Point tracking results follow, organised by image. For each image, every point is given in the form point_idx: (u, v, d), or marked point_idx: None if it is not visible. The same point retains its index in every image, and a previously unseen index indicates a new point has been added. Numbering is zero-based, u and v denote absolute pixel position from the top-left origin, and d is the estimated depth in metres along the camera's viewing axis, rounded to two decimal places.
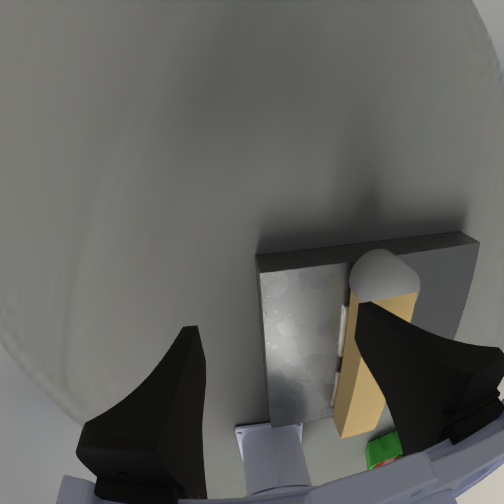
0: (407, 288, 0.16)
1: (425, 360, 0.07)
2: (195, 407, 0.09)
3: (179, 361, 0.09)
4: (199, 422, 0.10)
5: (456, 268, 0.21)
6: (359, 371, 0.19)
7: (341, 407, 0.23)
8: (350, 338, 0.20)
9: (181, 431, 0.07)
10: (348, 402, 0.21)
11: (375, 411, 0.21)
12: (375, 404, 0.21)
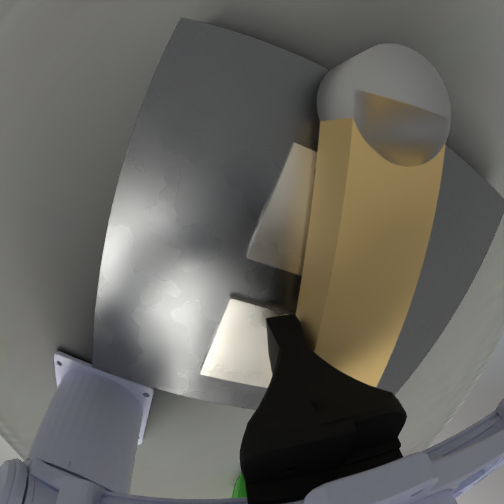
0: (428, 98, 0.07)
1: (295, 393, 0.07)
2: None
3: (301, 347, 0.09)
4: None
5: (474, 216, 0.13)
6: (333, 286, 0.09)
7: None
8: (316, 222, 0.11)
9: None
10: None
11: None
12: None
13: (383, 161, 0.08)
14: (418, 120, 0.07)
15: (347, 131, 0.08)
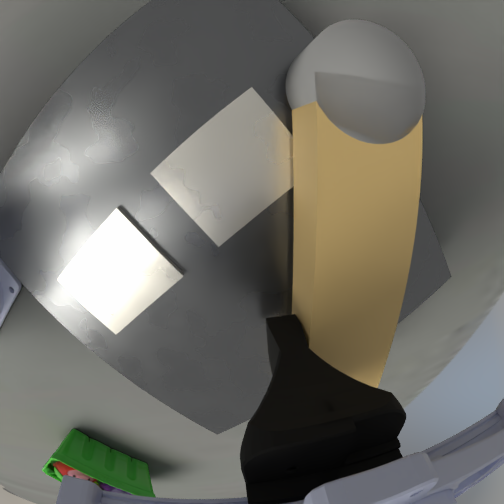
0: (397, 70, 0.07)
1: (295, 393, 0.07)
2: None
3: (301, 347, 0.09)
4: None
5: None
6: (319, 276, 0.09)
7: None
8: (299, 212, 0.10)
9: None
10: None
11: None
12: (361, 377, 0.11)
13: (355, 141, 0.07)
14: (388, 94, 0.07)
15: (313, 116, 0.07)
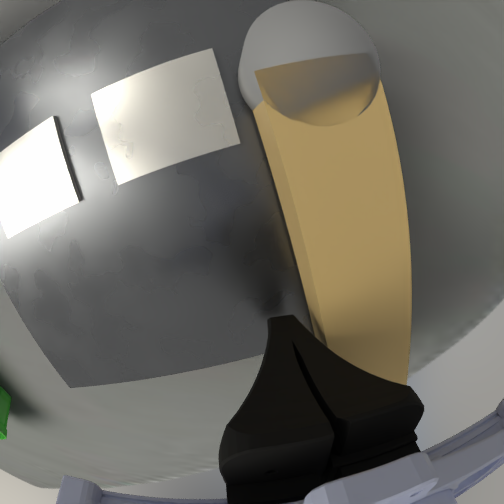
0: (341, 41, 0.06)
1: (315, 390, 0.07)
2: None
3: (287, 349, 0.09)
4: None
5: None
6: (315, 271, 0.09)
7: None
8: (285, 209, 0.10)
9: None
10: None
11: (394, 371, 0.11)
12: (389, 356, 0.11)
13: (315, 128, 0.07)
14: (338, 69, 0.07)
15: (266, 115, 0.07)
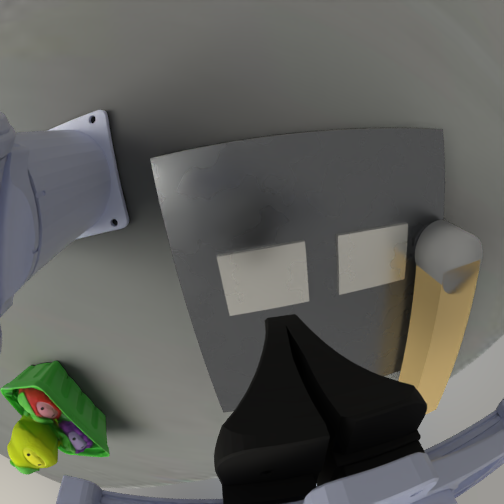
0: (473, 256, 0.14)
1: (319, 389, 0.07)
2: None
3: (284, 350, 0.09)
4: None
5: (404, 348, 0.21)
6: (430, 348, 0.17)
7: None
8: (417, 315, 0.18)
9: None
10: (415, 383, 0.19)
11: (439, 390, 0.19)
12: (440, 382, 0.19)
13: (451, 295, 0.15)
14: (467, 269, 0.15)
15: (438, 288, 0.15)
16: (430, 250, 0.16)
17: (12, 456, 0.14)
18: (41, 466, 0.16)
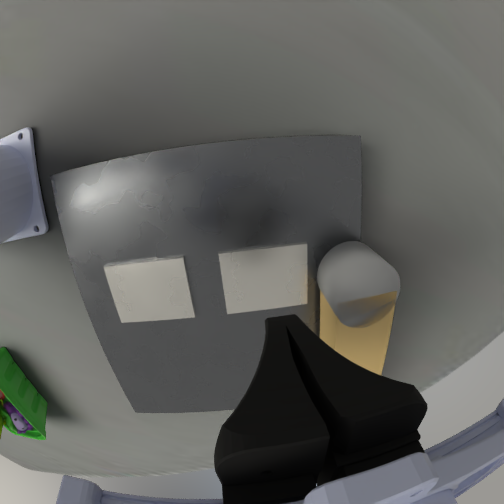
0: (384, 286, 0.14)
1: (319, 389, 0.07)
2: None
3: (284, 350, 0.09)
4: None
5: None
6: None
7: None
8: None
9: None
10: None
11: None
12: None
13: (354, 329, 0.15)
14: (376, 301, 0.15)
15: (334, 320, 0.15)
16: (328, 276, 0.15)
17: None
18: None
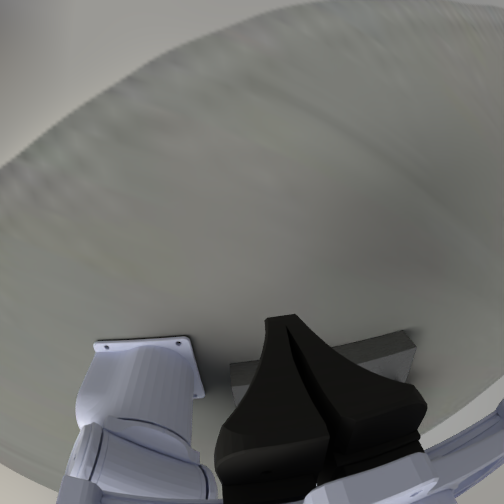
0: None
1: (319, 389, 0.07)
2: None
3: (284, 350, 0.09)
4: None
5: None
6: None
7: None
8: None
9: None
10: None
11: None
12: None
13: None
14: None
15: None
16: None
17: None
18: None
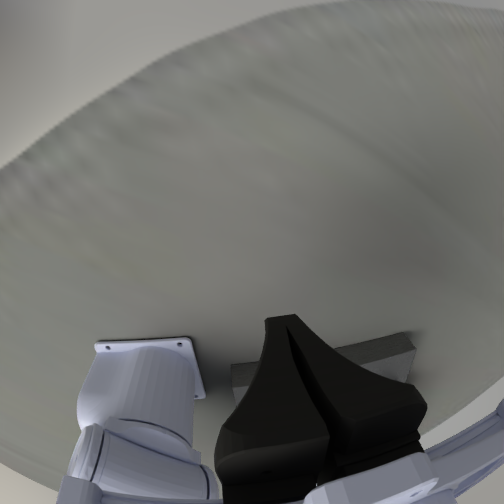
0: None
1: (319, 389, 0.07)
2: None
3: (284, 350, 0.09)
4: None
5: None
6: None
7: None
8: None
9: None
10: None
11: None
12: None
13: None
14: None
15: None
16: None
17: None
18: None
